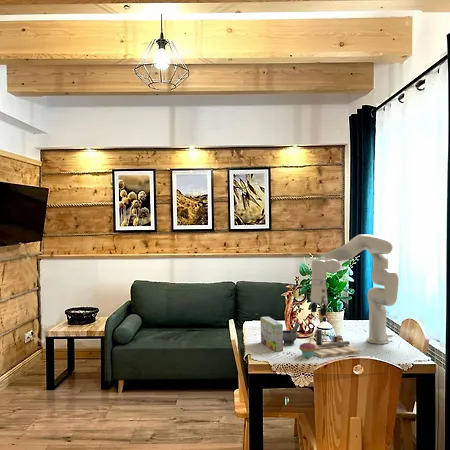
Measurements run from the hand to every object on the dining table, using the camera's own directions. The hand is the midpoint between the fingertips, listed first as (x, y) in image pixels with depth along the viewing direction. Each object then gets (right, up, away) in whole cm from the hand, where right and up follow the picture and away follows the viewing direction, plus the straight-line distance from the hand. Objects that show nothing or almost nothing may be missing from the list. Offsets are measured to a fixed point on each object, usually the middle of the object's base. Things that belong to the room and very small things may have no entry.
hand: (318, 313), depth 288 cm
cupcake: (-7, -21, -9) cm, 24 cm away
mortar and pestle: (-13, -20, +17) cm, 30 cm away
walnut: (+14, -19, +13) cm, 27 cm away
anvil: (+13, -19, +15) cm, 28 cm away
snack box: (-24, -21, +11) cm, 34 cm away
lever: (+9, -18, +4) cm, 20 cm away
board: (+6, -21, +3) cm, 22 cm away
